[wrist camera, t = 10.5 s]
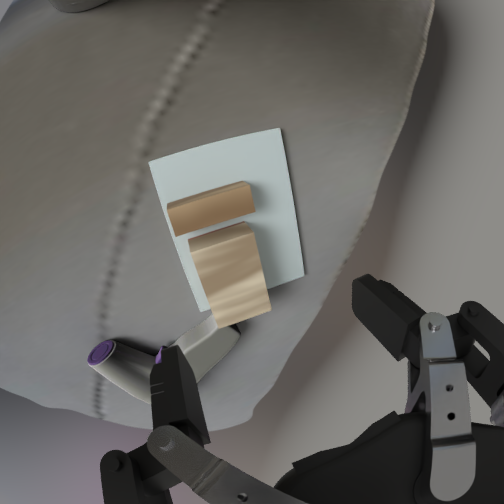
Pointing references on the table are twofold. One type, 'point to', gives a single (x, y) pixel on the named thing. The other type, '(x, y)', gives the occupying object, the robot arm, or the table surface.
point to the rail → (210, 207)
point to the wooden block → (231, 273)
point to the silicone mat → (263, 193)
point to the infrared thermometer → (140, 364)
